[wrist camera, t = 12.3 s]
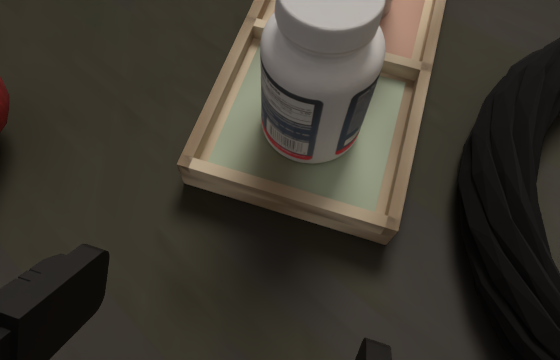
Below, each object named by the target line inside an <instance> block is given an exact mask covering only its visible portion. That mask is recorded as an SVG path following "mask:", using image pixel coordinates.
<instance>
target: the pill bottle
mask: <svg viewBox="0 0 560 360" xmlns="http://www.w3.org/2000/svg"><path fill="white" fill-rule="evenodd" d="M385 1H386V0H276V2H275V12H274V13H273V14H272V15H271V17H270V18H269V19H268V21H267V23H266V25H265V27H264V29H263V32H262V36H261V43H260V65H261V119H262V128H263V131H264V134H265V136H266V138H267V140H268V142H269V143H270V144H271V146H272V147H273V148H274V149H275V150H276V151H278V152H279V153H280V154H282V155H283V156H285V157H287V158H288V159H291V160H293V161H297V162H301V163H309V164H316V163H323V162H327V161H331V160H333V159H336V158H338V157H340V156H341V155H343V154H344V153H345V152H347V151H348V150H349V149H350V148H351V146H352V145H353V144H354V142H355V141H356V139H357V136H358V134H359V132H360V129H361V126H362V123H363V121H364V118H365V115H366V112H367V109H368V107H369V104H370V101H371V98H372V96H373V93H374V90H375V87H376V84H377V81H378V79H379V76H380V73H381V70H382V66H383V63H384V59H385V51H386V47H385V39H384V35H383V32H382V30H381V28H380V26H379V24H380V20H381V17H382V13H383V10H384V6H385Z"/></svg>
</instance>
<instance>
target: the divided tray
mask: <svg viewBox="0 0 560 360" xmlns="http://www.w3.org/2000/svg"><path fill="white" fill-rule="evenodd" d="M275 2H276V0H254V2H253V4H252V6H251V8H250V10H249V12H248V14H247V16H246V19H245V21H244V23H243V25H242V27H241V29H240V31H239V33H238V36H237V38H236V40H235V42H234V44H233V46H232V48H231V50H230V52H229V55H228V57H227V59H226V61H225V63H224V65H223V67H222V69H221V72H220V74H219V76H218V78H217V80H216V82H215V84H214V86H213V89H212V91H211V93H210V95H209V97H208V99H207V101H206V103H205V105H204V108H203V110H202V112H201V114H200V116H199V118H198V120H197V122H196V125H195V127H194V129H193V131H192V133H191V135H190V137H189V139H188V142H187V144H186V146H185V148H184V150H183V152H182V154H181V156H180V159H179V161H178V163H177V166H178V169H179V171H180V174H181V176H182V179H183V182H184V183H185V184H188V185H191V186H195V187H198V188H201V189H204V190H208V191H211V192H214V193H217V194H221V195H224V196H227V197H230V198H234V199H237V200H240V201H244V202H247V203H250V204H253V205H257V206H260V207H263V208H266V209H270V210H273V211H276V212H279V213H283V214H286V215H289V216H292V217H296V218H299V219H302V220H305V221H309V222H312V223H315V224H318V225H322V226H325V227H328V228H331V229H335V230H338V231H341V232H344V233H348V234H351V235H354V236H358V237H361V238H364V239H367V240H371V241H374V242H377V243H380V244H384V245H387V244H388V243H389V241H390V240H391V239H392V238H393V237H394V236H395V234H396V233H397V232H398V230H399V225H400V220H401V215H402V210H403V206H404V201H405V196H406V191H407V186H408V181H409V177H410V172H411V167H412V162H413V157H414V152H415V148H416V143H417V138H418V133H419V128H420V123H421V119H422V114H423V109H424V104H425V99H426V94H427V90H428V85H429V80H430V75H431V70H432V65H433V61H434V56H435V51H436V46H437V41H438V36H439V32H440V27H441V22H442V17H443V12H444V8H445V3H446V0H392V3H391V6H390V9H389V11H388V13H387V14H386V15H385V17H383V18H382V19H381V20H380V24H379V26H380V28H381V30H382V32H383V35H384V39H385V47H386V51H385V59H384V63H383V66H382V70H381V73H380V76H379V79H378V81H377V84H376V87H375V90H374V93H373V96H372V98H371V101H370V104H369V107H368V109H367V112H366V115H365V118H364V121H363V123H362V126H361V129H360V132H359V134H358V136H357V139H356V141H355V142H354V144H353V145H352V146H351V148H350V149H349V150H348V151H347V152H345V153H344V154H343V155H341V156H340V157H338V158H336V159H333V160H331V161H327V162H323V163H316V164H309V163H301V162H297V161H293V160H291V159H288V158H287V157H285V156H283V155H282V154H280V153H279V152H278V151H276V150H275V149H274V148H273V147H272V146H271V144H270V143H269V142H268V140H267V138H266V136H265V134H264V131H263V128H262V119H261V65H260V43H261V36H262V32H263V29H264V27H265V25H266V23H267V21H268V19H269V18H270V17H271V15H272V14H273V13H274V12H275Z"/></svg>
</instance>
